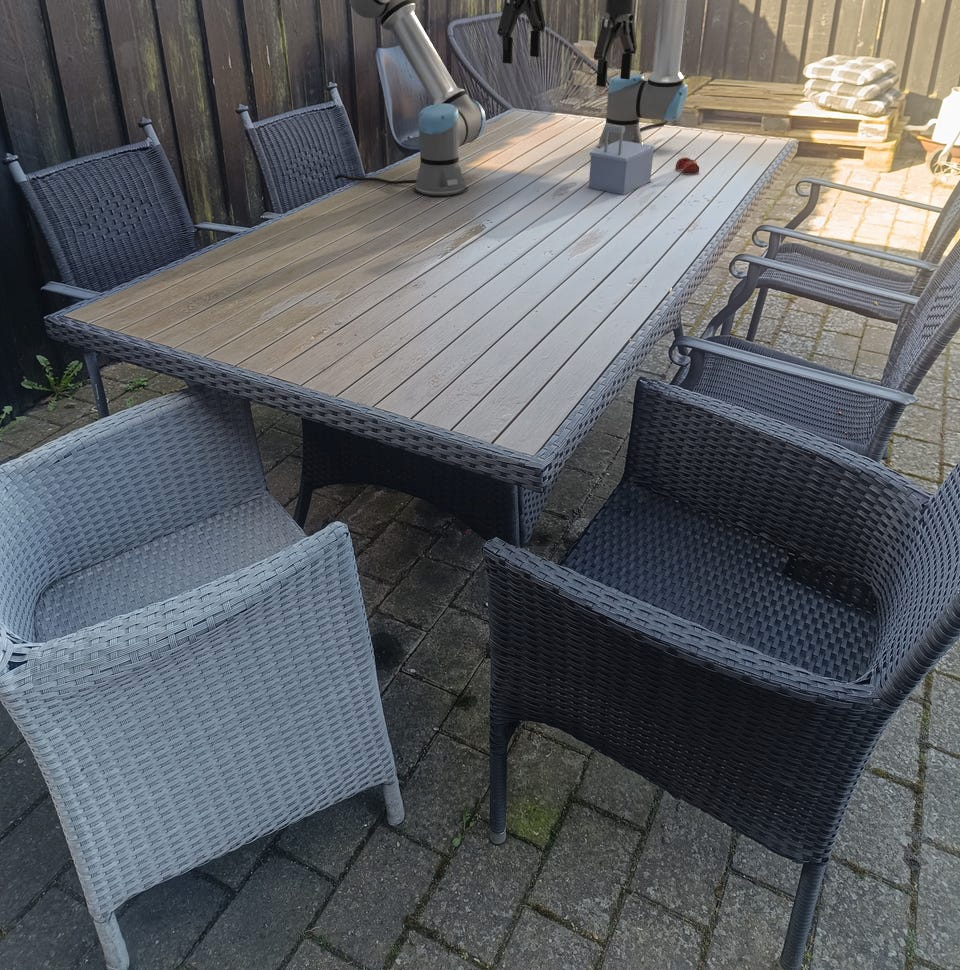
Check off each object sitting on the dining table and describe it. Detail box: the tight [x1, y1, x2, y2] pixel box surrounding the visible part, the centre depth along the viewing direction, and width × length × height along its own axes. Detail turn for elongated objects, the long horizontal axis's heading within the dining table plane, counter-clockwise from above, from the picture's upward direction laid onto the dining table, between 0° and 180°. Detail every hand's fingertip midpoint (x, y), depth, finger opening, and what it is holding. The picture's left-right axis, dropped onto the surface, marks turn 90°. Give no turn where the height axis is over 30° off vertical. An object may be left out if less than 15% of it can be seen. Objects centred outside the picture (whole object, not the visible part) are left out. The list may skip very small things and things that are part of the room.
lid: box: [589, 123, 655, 161], centre depth 254 cm, size 18×12×9 cm
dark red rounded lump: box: [675, 156, 700, 175], centre depth 273 cm, size 6×4×8 cm
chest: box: [588, 148, 655, 195], centre depth 260 cm, size 17×12×10 cm
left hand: (521, 59), depth 240 cm, fingers open, 13 cm apart
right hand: (613, 82), depth 239 cm, fingers open, 13 cm apart
